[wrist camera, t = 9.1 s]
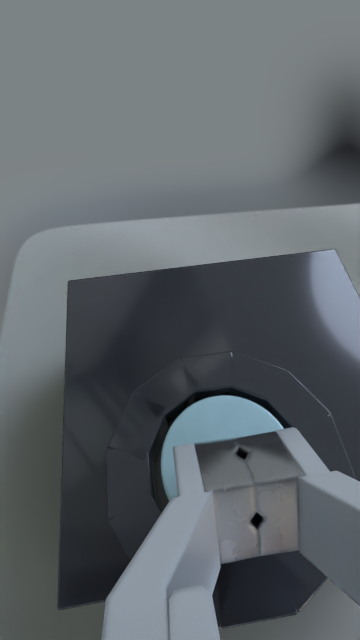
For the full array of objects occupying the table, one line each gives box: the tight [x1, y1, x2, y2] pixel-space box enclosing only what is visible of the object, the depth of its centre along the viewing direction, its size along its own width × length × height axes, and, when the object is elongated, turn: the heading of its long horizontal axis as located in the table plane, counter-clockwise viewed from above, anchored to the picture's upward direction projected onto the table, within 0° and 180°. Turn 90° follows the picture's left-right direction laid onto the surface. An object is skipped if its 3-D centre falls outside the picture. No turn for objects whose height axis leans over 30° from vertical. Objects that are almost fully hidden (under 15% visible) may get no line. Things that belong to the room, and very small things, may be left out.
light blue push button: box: [160, 395, 284, 501], centre depth 10 cm, size 4×4×2 cm
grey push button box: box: [57, 249, 360, 629], centre depth 14 cm, size 12×12×8 cm
